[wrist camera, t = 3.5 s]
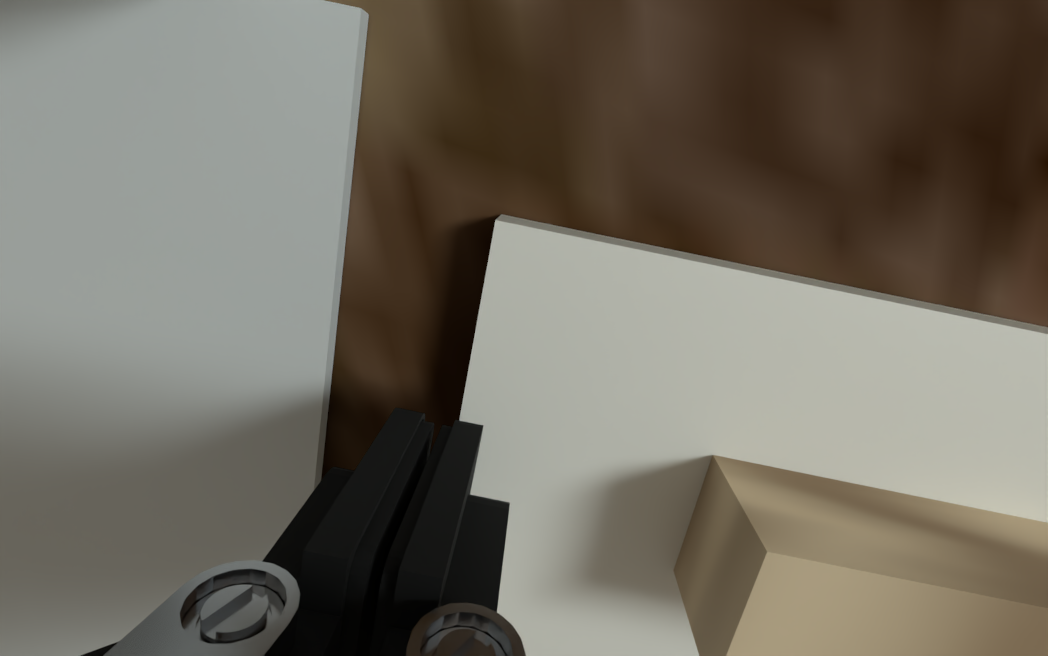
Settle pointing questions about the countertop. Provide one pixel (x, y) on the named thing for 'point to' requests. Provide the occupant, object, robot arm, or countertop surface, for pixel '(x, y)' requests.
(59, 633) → the mat
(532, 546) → the board
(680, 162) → the countertop surface
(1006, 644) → the turner
